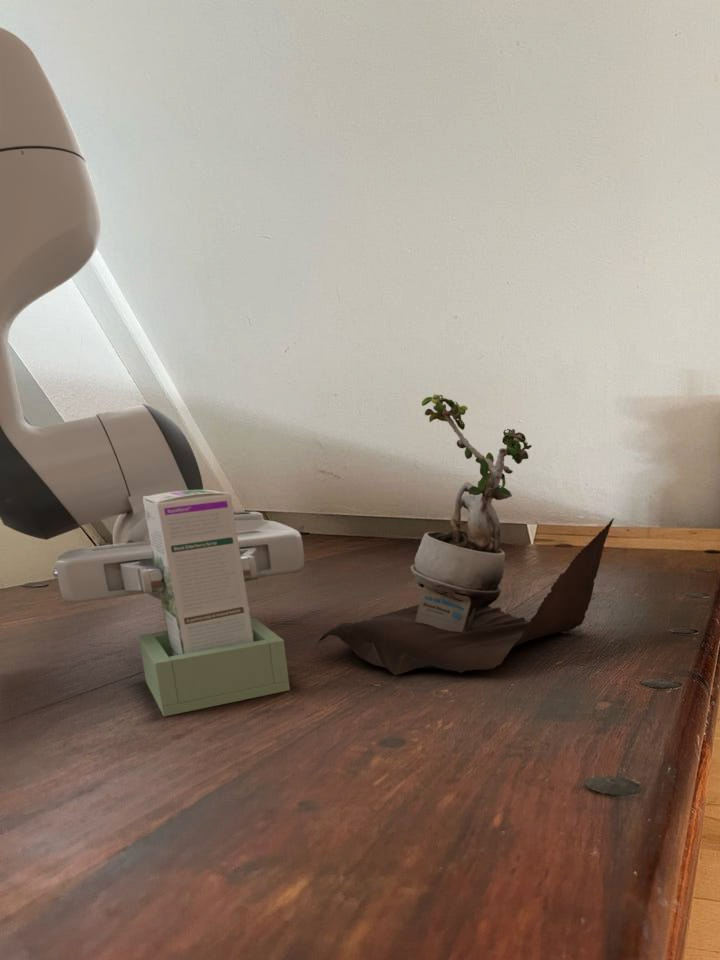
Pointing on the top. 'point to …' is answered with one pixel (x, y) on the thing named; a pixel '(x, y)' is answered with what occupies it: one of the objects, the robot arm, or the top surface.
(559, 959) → the top surface
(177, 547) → the syrup box
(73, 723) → the top surface
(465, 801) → the top surface
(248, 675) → the socket
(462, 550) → the potted plant
